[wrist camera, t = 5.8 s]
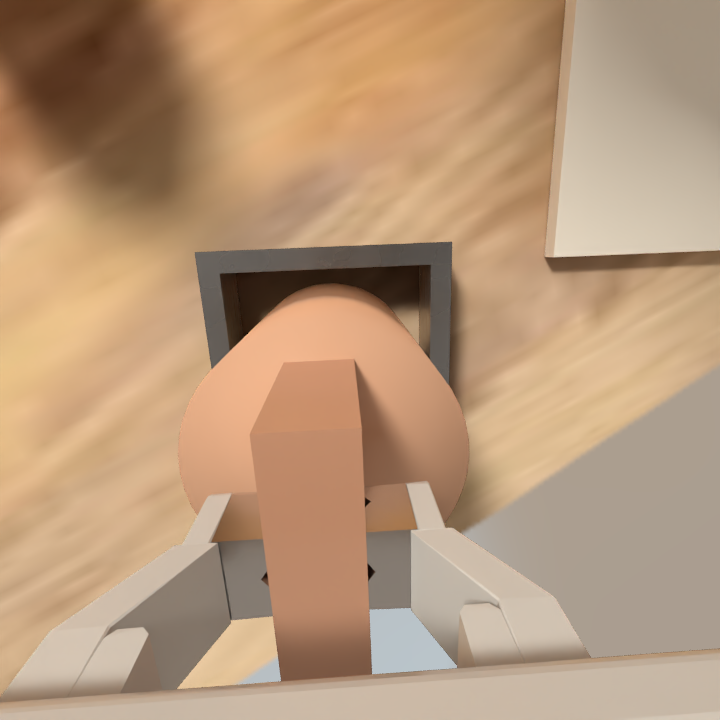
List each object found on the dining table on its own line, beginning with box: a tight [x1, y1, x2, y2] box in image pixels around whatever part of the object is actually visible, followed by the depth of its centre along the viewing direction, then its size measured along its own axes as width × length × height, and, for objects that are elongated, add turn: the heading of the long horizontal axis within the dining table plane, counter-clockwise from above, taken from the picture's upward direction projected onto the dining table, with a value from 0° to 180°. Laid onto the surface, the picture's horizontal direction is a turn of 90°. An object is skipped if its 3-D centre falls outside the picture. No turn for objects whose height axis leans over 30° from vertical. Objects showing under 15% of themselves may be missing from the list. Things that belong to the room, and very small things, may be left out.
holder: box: [195, 242, 452, 385], centre depth 22 cm, size 12×12×3 cm
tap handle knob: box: [178, 283, 469, 681], centre depth 14 cm, size 8×8×14 cm
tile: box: [545, 0, 720, 257], centre depth 20 cm, size 12×12×1 cm
